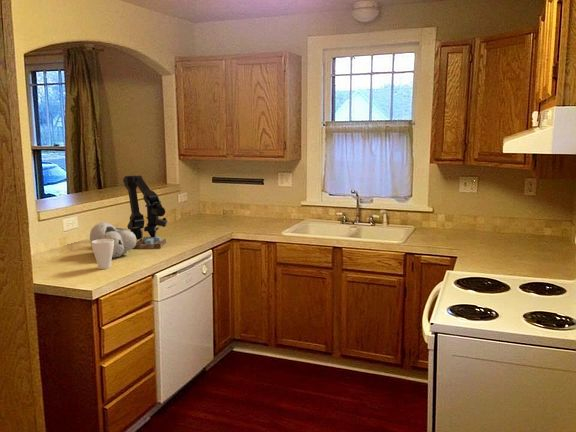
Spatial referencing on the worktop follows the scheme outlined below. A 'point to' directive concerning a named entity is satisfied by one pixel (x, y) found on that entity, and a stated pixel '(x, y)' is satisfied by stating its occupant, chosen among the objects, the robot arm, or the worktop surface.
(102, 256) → the cup
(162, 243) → the dock
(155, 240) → the t block
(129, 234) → the grey lobed sculpture
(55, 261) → the worktop surface
